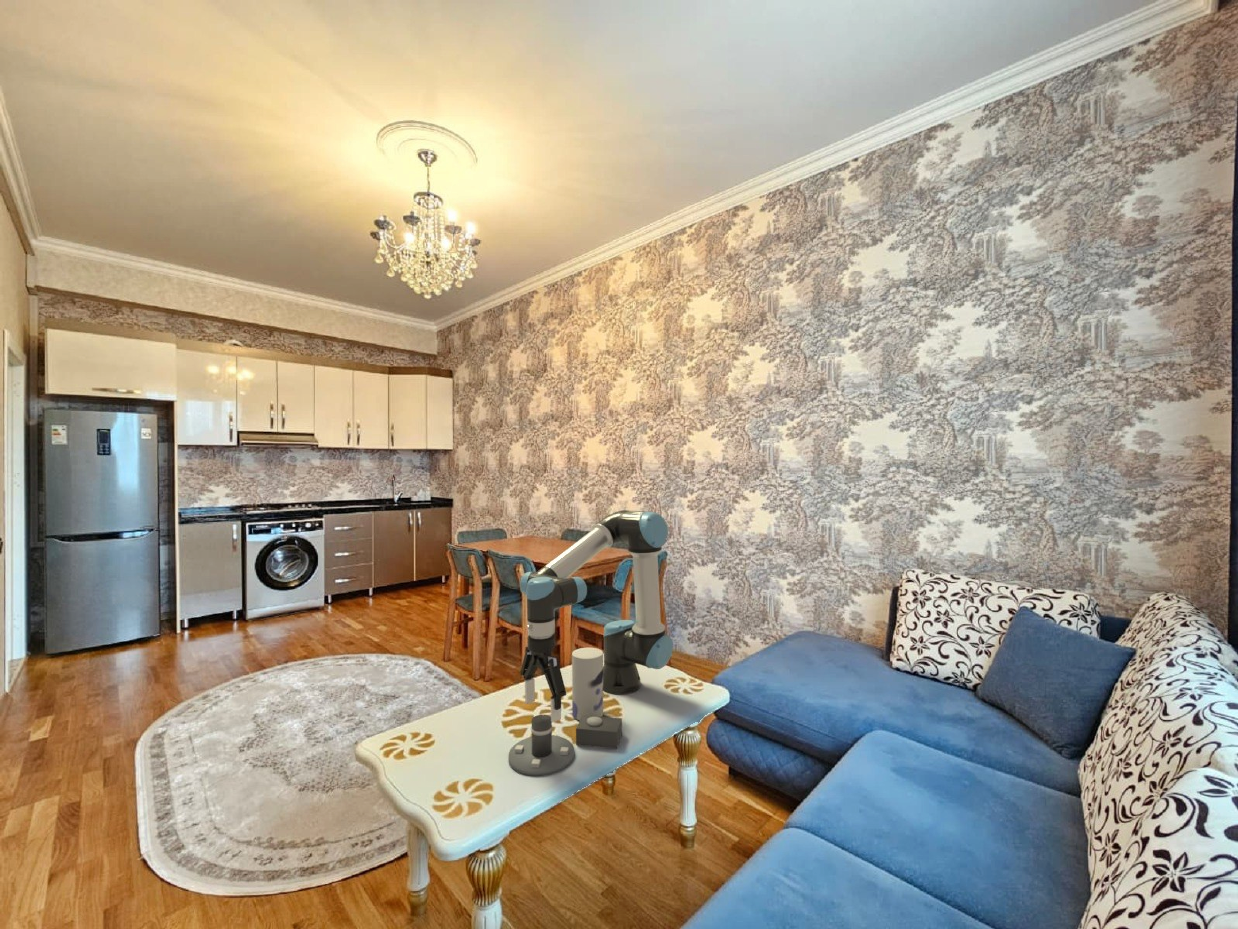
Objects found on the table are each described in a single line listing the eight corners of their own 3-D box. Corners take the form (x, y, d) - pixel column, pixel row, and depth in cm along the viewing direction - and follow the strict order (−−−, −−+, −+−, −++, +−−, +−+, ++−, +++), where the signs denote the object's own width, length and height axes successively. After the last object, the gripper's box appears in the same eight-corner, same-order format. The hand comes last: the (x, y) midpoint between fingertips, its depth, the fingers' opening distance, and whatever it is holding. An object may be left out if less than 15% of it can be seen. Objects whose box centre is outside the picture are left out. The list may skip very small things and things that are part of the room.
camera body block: (621, 735, 152) (621, 715, 152) (616, 749, 144) (616, 729, 144) (583, 731, 154) (582, 712, 154) (576, 746, 146) (575, 725, 146)
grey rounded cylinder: (545, 744, 144) (545, 712, 144) (556, 752, 140) (556, 720, 140) (527, 751, 141) (527, 718, 141) (538, 760, 136) (538, 726, 136)
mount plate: (551, 732, 153) (551, 725, 153) (587, 758, 139) (587, 750, 139) (496, 754, 142) (496, 746, 142) (529, 784, 128) (529, 776, 128)
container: (599, 723, 158) (598, 659, 159) (568, 720, 160) (568, 657, 161) (606, 708, 168) (606, 648, 168) (577, 706, 170) (577, 646, 170)
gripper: (507, 626, 148) (509, 699, 148) (554, 650, 129) (555, 733, 129) (530, 621, 153) (531, 691, 153) (578, 643, 134) (579, 723, 134)
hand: (542, 711), depth 141 cm, fingers open, 13 cm apart
